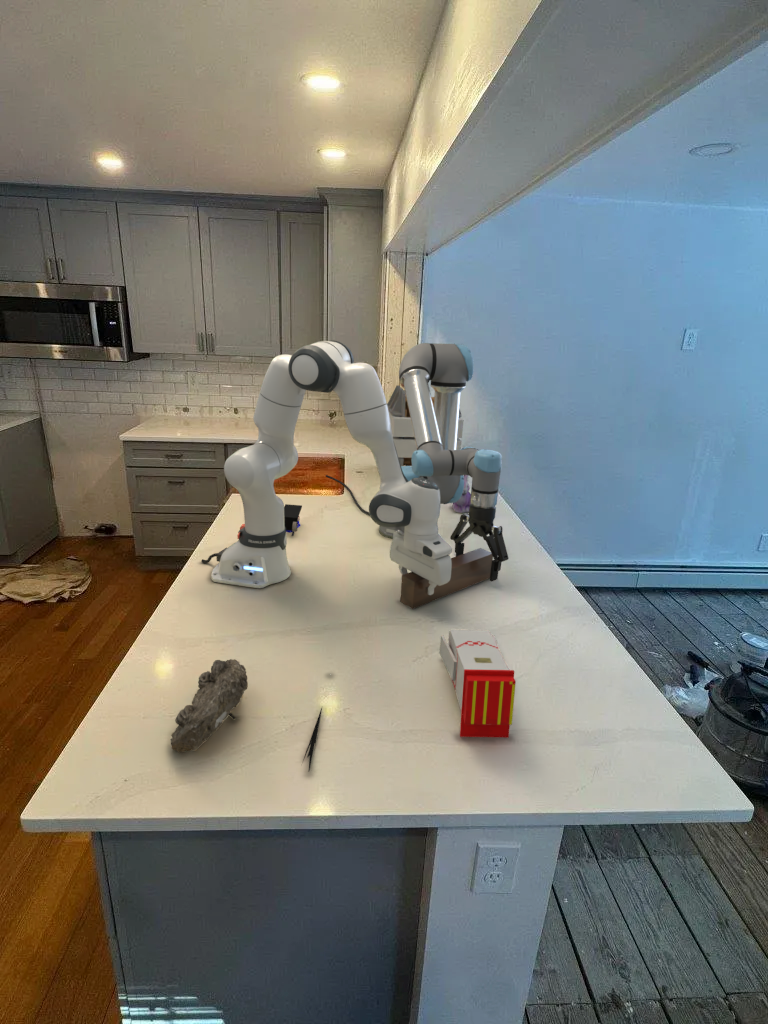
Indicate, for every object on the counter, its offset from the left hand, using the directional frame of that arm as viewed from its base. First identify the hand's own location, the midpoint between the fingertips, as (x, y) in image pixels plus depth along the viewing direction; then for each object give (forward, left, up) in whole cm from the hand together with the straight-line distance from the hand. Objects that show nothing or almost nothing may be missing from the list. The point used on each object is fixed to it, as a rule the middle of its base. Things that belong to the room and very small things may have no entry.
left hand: (417, 586), depth 153 cm
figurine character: (-42, +46, -4) cm, 63 cm away
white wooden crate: (+5, +128, -4) cm, 128 cm away
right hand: (+18, +16, -2) cm, 25 cm away
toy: (+11, -38, -4) cm, 40 cm away
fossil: (-40, -50, -4) cm, 64 cm away
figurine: (+21, +77, -4) cm, 80 cm away
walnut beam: (+9, +8, -4) cm, 13 cm away
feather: (-20, -49, -4) cm, 53 cm away
